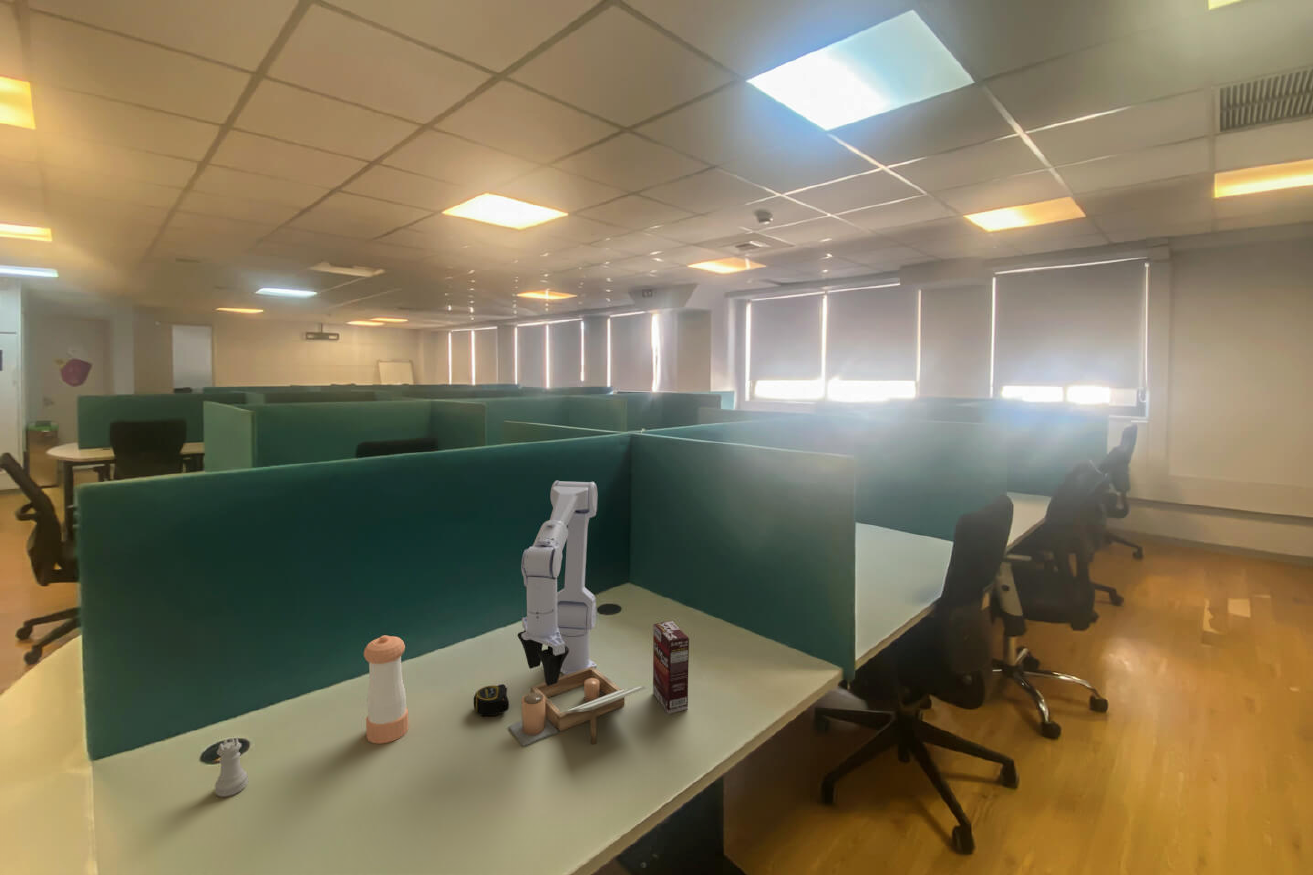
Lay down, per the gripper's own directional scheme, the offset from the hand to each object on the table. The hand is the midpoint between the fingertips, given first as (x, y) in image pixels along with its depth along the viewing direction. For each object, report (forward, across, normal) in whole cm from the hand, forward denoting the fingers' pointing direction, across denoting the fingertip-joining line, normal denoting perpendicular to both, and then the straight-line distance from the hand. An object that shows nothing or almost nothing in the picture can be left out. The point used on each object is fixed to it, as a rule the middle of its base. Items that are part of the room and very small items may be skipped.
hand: (542, 674), depth 111 cm
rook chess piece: (+10, -14, -49) cm, 52 cm away
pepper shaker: (+10, -15, -25) cm, 31 cm away
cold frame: (+10, +2, +9) cm, 14 cm away
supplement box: (+11, +8, +25) cm, 29 cm away
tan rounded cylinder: (+10, -2, +12) cm, 16 cm away
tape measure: (+11, -11, -6) cm, 16 cm away
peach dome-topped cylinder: (+10, +1, -2) cm, 10 cm away
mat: (+10, +1, -2) cm, 11 cm away
